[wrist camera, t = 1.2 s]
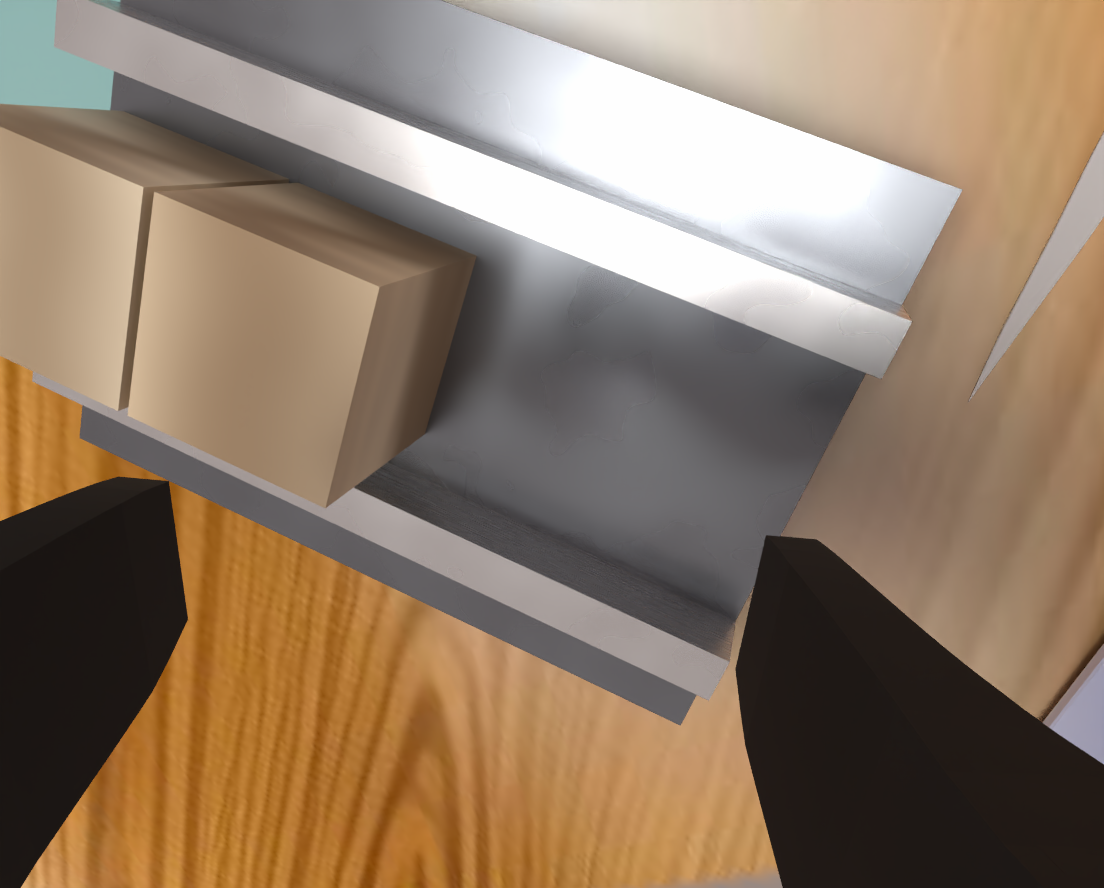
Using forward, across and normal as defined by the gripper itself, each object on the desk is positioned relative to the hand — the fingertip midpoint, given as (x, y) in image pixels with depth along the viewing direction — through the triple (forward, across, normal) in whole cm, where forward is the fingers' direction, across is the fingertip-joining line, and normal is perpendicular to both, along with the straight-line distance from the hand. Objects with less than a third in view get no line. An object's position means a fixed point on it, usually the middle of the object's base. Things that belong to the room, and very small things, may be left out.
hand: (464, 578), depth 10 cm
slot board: (+10, +1, 0) cm, 11 cm away
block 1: (+9, +7, -2) cm, 12 cm away
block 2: (+8, +3, -1) cm, 9 cm away
